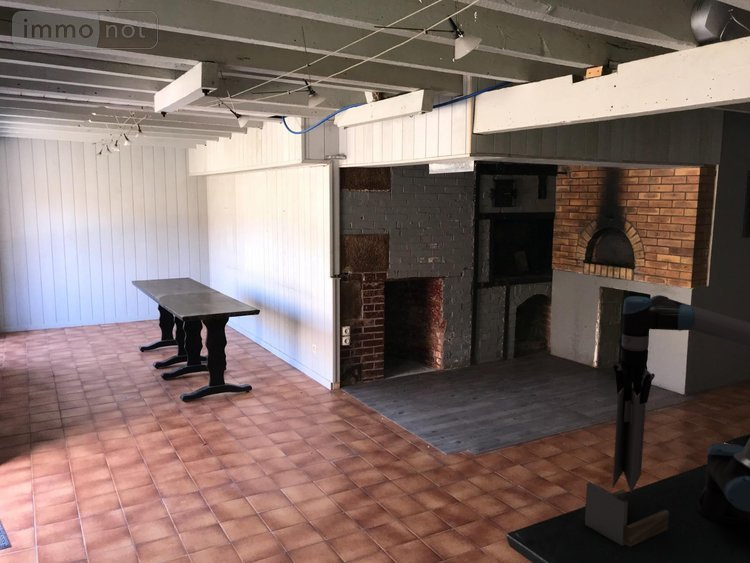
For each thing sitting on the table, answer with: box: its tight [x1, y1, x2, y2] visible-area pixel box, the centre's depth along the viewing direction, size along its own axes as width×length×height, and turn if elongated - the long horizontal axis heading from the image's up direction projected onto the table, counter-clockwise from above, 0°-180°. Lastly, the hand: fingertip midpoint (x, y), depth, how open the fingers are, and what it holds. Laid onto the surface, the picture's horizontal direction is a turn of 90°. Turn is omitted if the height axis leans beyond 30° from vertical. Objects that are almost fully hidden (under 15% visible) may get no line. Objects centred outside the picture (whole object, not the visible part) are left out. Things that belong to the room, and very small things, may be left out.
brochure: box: [611, 386, 647, 493], centre depth 193 cm, size 14×6×30 cm, turn 146°
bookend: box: [584, 481, 629, 547], centre depth 191 cm, size 14×2×14 cm, turn 30°
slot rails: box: [584, 488, 670, 548], centre depth 196 cm, size 17×18×6 cm
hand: (631, 421), depth 192 cm, fingers open, 1 cm apart
